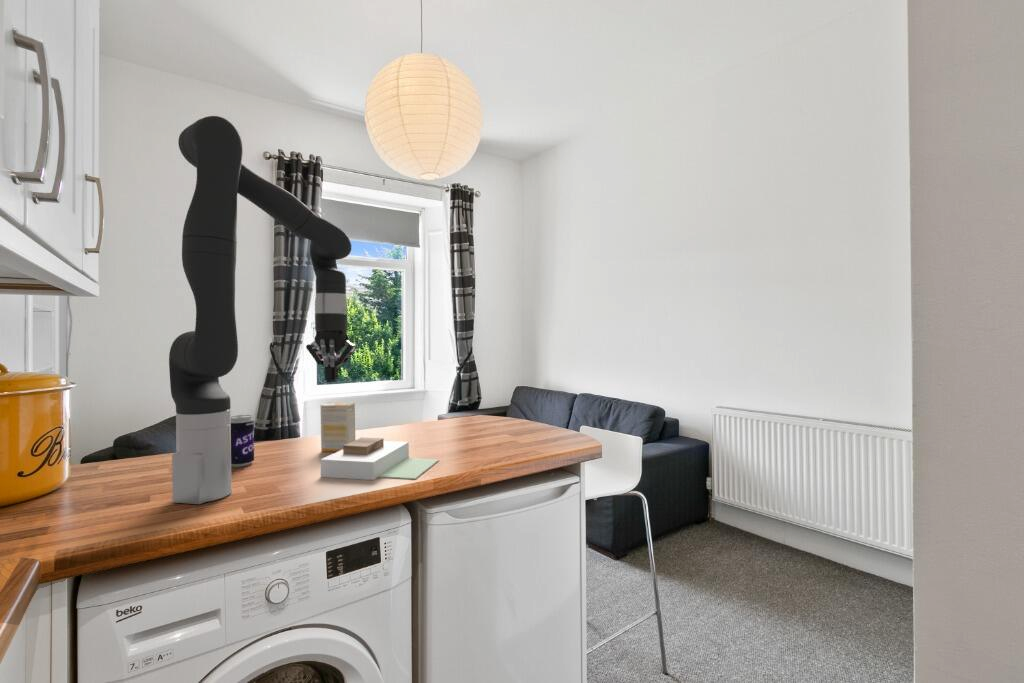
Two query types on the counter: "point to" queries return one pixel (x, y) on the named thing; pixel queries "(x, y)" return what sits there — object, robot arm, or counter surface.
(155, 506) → the counter surface
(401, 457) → the white flat block
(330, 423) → the supplement box
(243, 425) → the beverage can
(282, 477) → the counter surface
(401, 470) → the mat
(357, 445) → the brown wooden block
